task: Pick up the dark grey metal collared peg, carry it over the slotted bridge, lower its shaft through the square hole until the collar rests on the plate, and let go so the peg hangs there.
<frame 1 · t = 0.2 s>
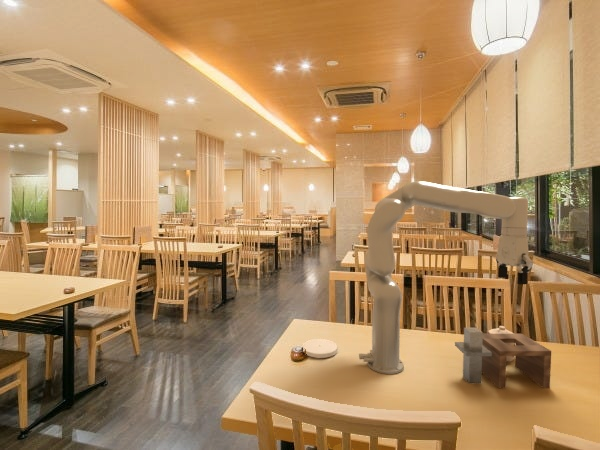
hand: (512, 280, 118), 31 cm above the table, tool pointing down, fingers open, 9 cm apart
collared peg: (471, 380, 111), on the table
plastic lid: (319, 352, 133), on the table
slotted bridge: (510, 376, 113), on the table
teacup with lid: (499, 355, 129), on the table
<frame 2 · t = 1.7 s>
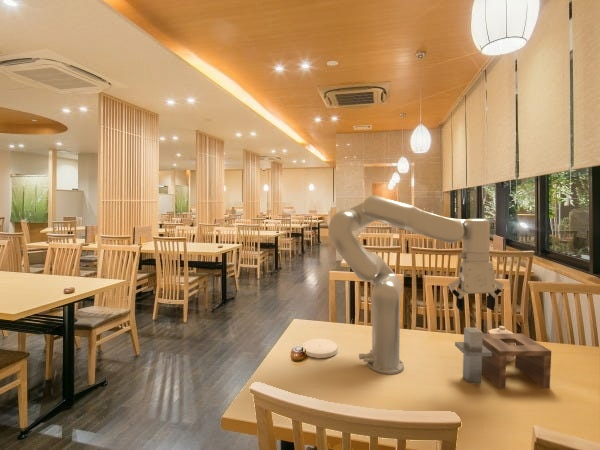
hand: (475, 309, 109), 24 cm above the table, tool pointing down, fingers open, 9 cm apart
nothing on the table moved.
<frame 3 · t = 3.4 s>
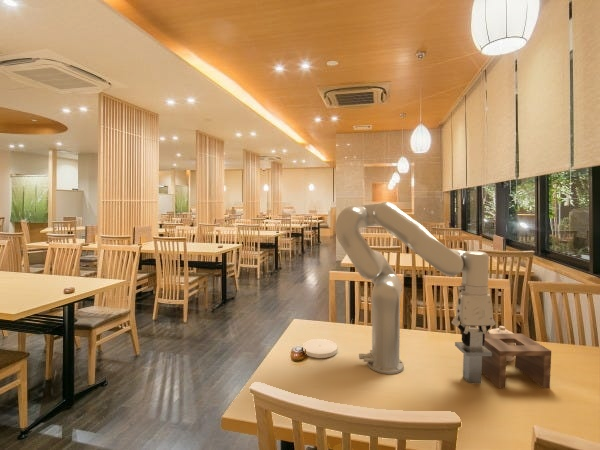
hand: (472, 343, 110), 12 cm above the table, tool pointing down, fingers closed on collared peg, 4 cm apart
collared peg: (471, 380, 111), on the table, touching gripper
everything else where it was.
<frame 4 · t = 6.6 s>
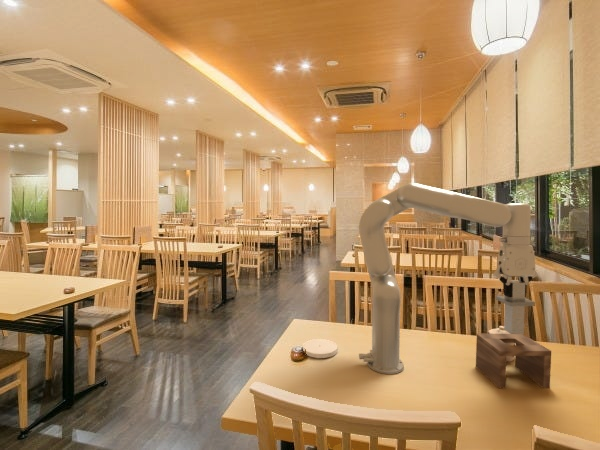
hand: (514, 295, 111), 28 cm above the table, tool pointing down, fingers closed on collared peg, 4 cm apart
collared peg: (513, 331, 112), point 15 cm above the table, touching gripper
everything else where it was.
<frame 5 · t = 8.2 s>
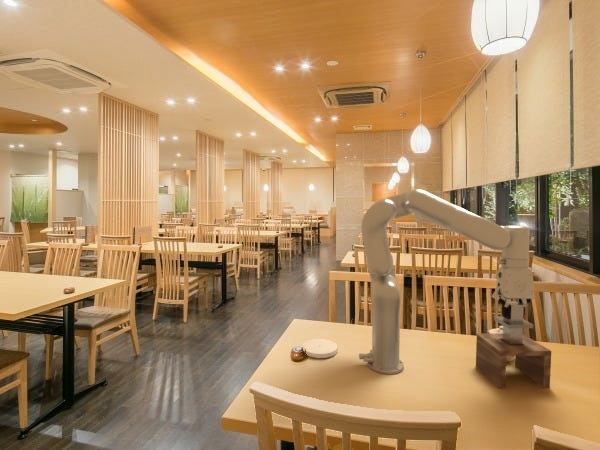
hand: (513, 317, 111), 20 cm above the table, tool pointing down, fingers closed on collared peg, 4 cm apart
collared peg: (512, 353, 112), point 8 cm above the table, touching gripper
everything else where it was.
when the fingers open (15 cm above the table, at t = 9.7 s): collared peg stays where it is, resting on slotted bridge.
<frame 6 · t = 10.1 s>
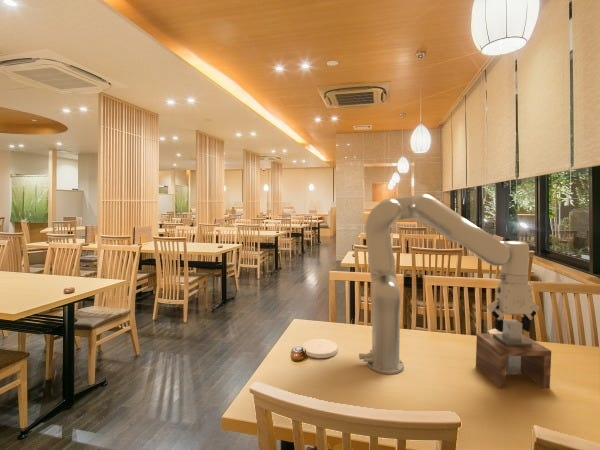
hand: (512, 330, 112), 16 cm above the table, tool pointing down, fingers open, 8 cm apart
collared peg: (510, 370, 113), point 2 cm above the table, touching slotted bridge
everything else where it was.
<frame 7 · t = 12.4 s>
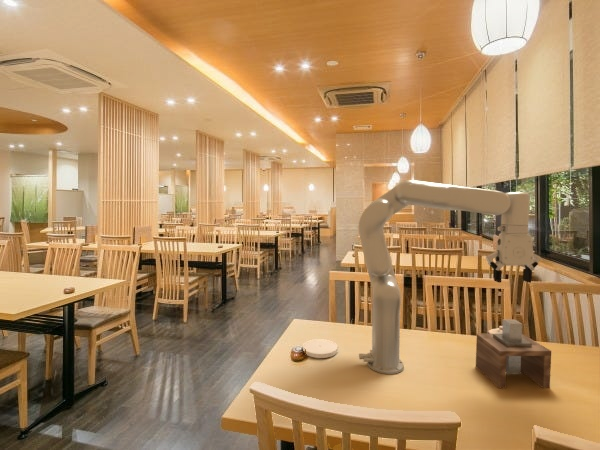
hand: (512, 281, 111), 32 cm above the table, tool pointing down, fingers open, 9 cm apart
nothing on the table moved.
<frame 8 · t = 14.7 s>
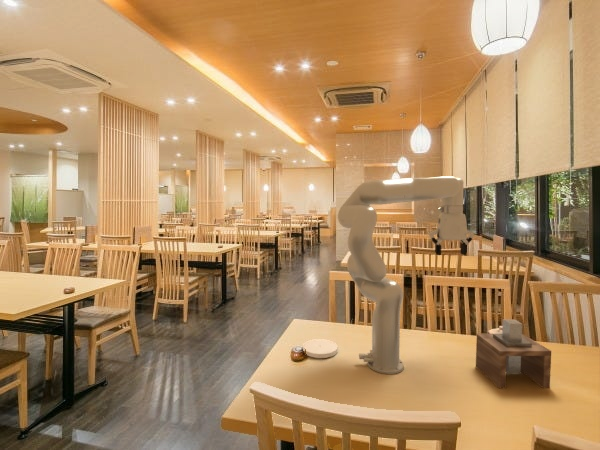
hand: (450, 254, 130), 38 cm above the table, tool pointing down, fingers open, 9 cm apart
nothing on the table moved.
at the end: collared peg 0.1 cm off-centre on the slotted bridge, point 2.0 cm above the slotted bridge's base; collared peg tilted 0°; the gripper is holding nothing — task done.
